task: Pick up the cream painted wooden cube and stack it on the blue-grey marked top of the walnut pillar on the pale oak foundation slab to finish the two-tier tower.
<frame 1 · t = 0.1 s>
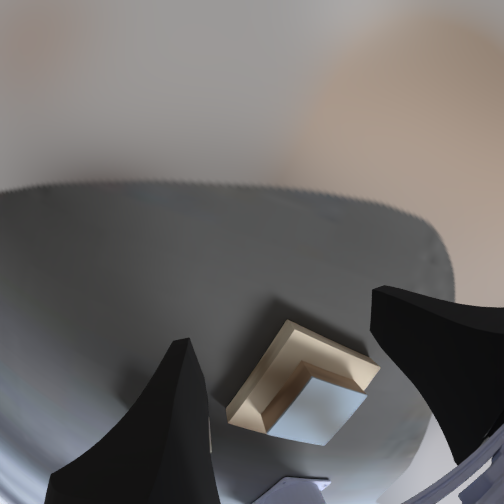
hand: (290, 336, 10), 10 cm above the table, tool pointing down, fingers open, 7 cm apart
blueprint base: (301, 385, 22), on the table
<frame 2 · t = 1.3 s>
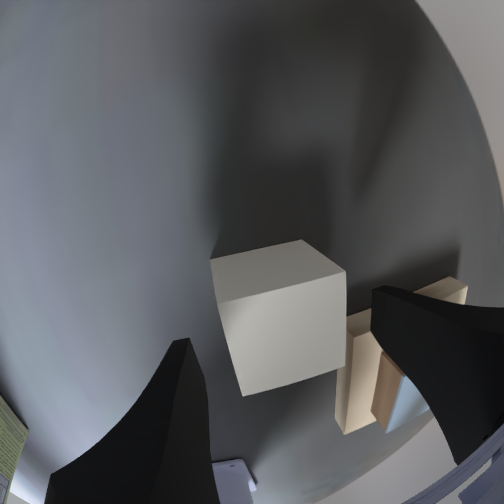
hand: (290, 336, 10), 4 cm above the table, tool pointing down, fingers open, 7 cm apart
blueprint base: (395, 353, 17), on the table
cream cube: (263, 290, 14), on the table
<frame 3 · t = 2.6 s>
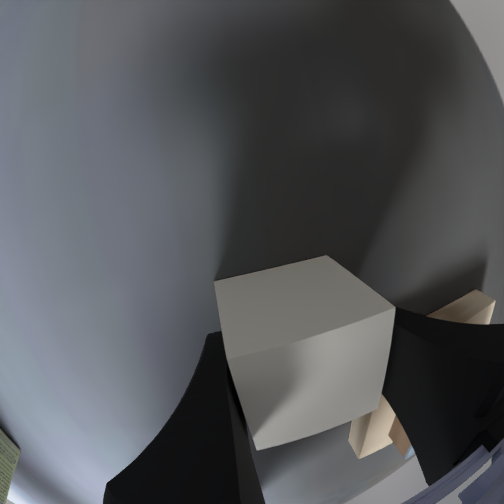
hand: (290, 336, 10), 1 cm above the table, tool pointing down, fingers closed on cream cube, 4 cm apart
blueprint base: (416, 373, 15), on the table
cream cube: (279, 317, 11), on the table, touching gripper
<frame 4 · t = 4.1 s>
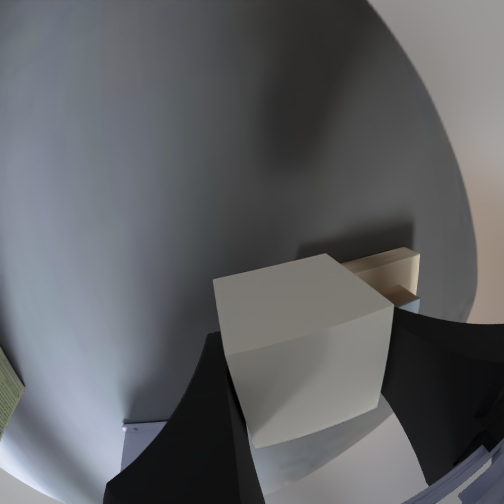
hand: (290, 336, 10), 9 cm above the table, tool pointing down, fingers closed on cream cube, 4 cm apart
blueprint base: (353, 316, 21), on the table
cream cube: (278, 315, 11), point 7 cm above the table, touching gripper
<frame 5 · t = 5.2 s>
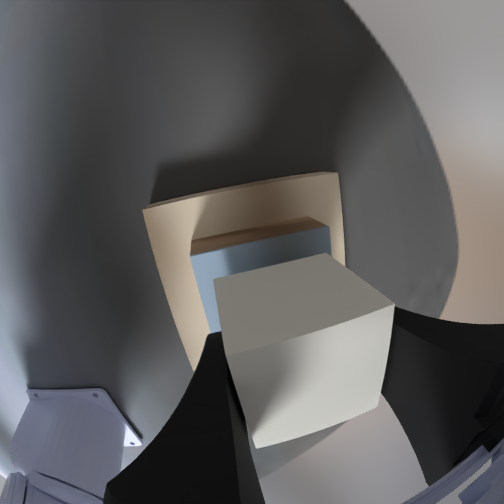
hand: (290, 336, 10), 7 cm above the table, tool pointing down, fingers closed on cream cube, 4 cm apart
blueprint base: (253, 268, 16), on the table
cream cube: (279, 315, 11), point 6 cm above the table, touching gripper
when the fingers open (7 cm above the table, at t = 5.9 s): cream cube drops 1 cm, resting on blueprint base.
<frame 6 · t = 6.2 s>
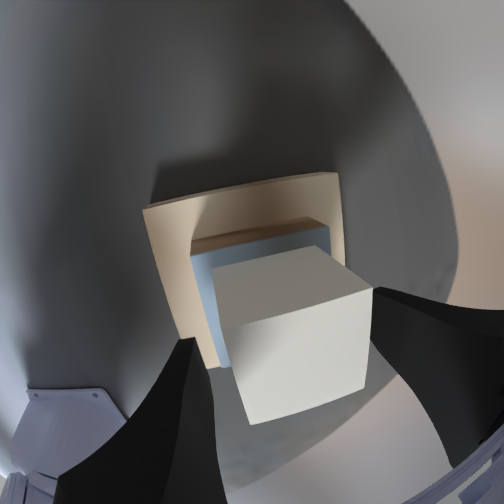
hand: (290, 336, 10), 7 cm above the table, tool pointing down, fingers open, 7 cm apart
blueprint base: (253, 268, 16), on the table
cream cube: (272, 303, 12), point 4 cm above the table, touching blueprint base
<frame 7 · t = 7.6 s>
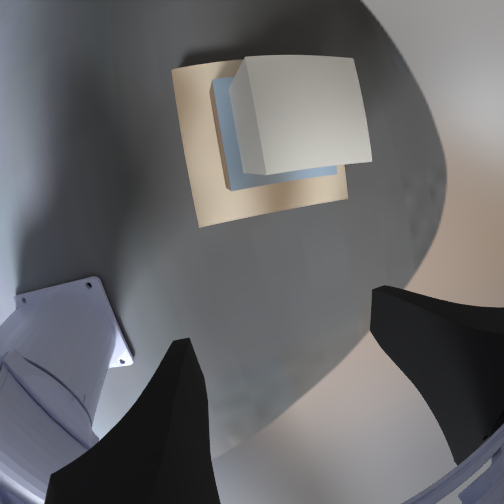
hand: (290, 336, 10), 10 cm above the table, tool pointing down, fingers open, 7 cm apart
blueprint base: (259, 135, 17), on the table
cream cube: (278, 124, 13), point 4 cm above the table, touching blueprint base
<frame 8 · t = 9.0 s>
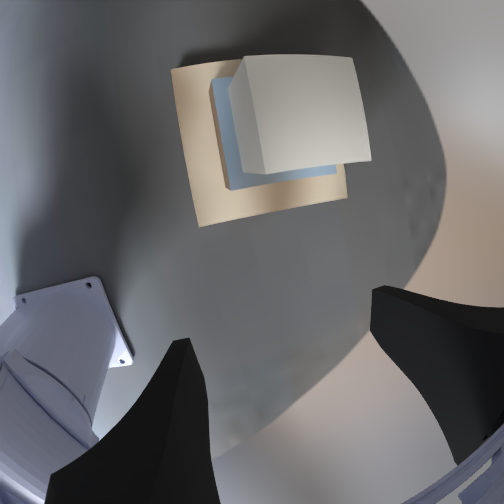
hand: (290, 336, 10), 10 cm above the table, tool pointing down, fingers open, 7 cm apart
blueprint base: (258, 134, 17), on the table
cream cube: (278, 124, 13), point 4 cm above the table, touching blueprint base
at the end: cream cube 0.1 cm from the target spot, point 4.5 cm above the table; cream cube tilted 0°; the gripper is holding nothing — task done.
